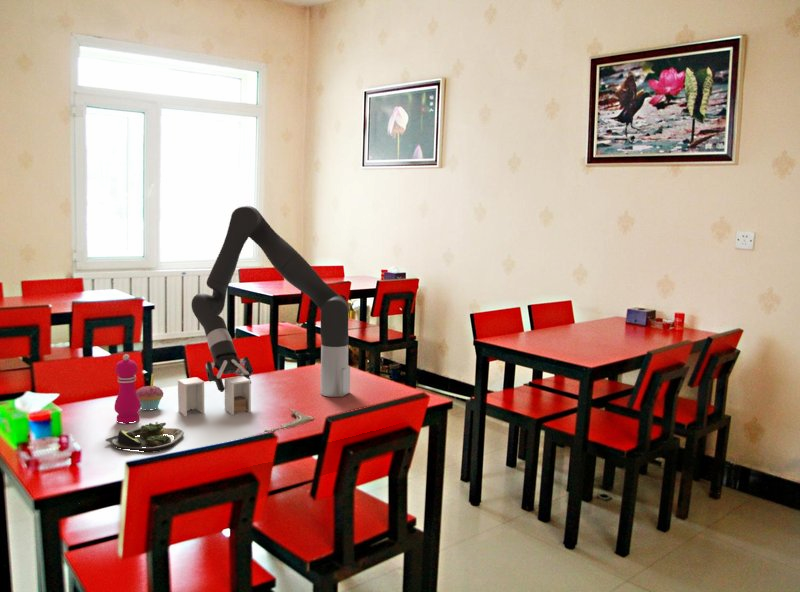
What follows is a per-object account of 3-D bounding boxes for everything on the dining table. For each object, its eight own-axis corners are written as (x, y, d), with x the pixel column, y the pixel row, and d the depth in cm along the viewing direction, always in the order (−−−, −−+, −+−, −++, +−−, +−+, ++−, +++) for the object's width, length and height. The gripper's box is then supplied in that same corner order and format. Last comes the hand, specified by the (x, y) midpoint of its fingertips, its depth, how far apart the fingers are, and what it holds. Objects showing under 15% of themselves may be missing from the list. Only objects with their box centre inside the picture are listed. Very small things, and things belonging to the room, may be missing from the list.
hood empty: (178, 411, 214) (177, 379, 212) (197, 408, 217) (196, 377, 216) (185, 416, 209) (184, 384, 207) (204, 413, 212) (204, 381, 211)
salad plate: (138, 426, 200) (138, 411, 200) (196, 431, 197) (196, 416, 197) (98, 450, 181) (98, 433, 181) (161, 456, 178) (161, 439, 178)
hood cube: (224, 409, 216) (224, 378, 215) (242, 406, 220) (242, 375, 219) (232, 414, 212) (232, 382, 210) (250, 411, 215) (250, 380, 214)
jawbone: (318, 418, 213) (318, 412, 213) (292, 441, 194) (292, 434, 193) (291, 413, 215) (291, 407, 215) (262, 435, 196) (263, 429, 195)
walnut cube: (229, 410, 216) (229, 397, 216) (241, 408, 219) (241, 395, 218) (234, 413, 213) (234, 401, 212) (246, 411, 215) (246, 399, 215)
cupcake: (169, 407, 217) (168, 369, 216) (149, 414, 210) (148, 376, 208) (149, 403, 221) (148, 366, 219) (128, 410, 213) (127, 372, 212)
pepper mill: (146, 418, 206) (144, 353, 203) (129, 426, 199) (127, 358, 196) (126, 415, 208) (124, 350, 205) (109, 422, 201) (107, 355, 198)
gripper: (202, 341, 217) (217, 385, 209) (245, 337, 225) (260, 379, 218) (196, 354, 222) (210, 398, 214) (238, 350, 230) (253, 391, 223)
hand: (235, 388), depth 216 cm, fingers open, 8 cm apart
